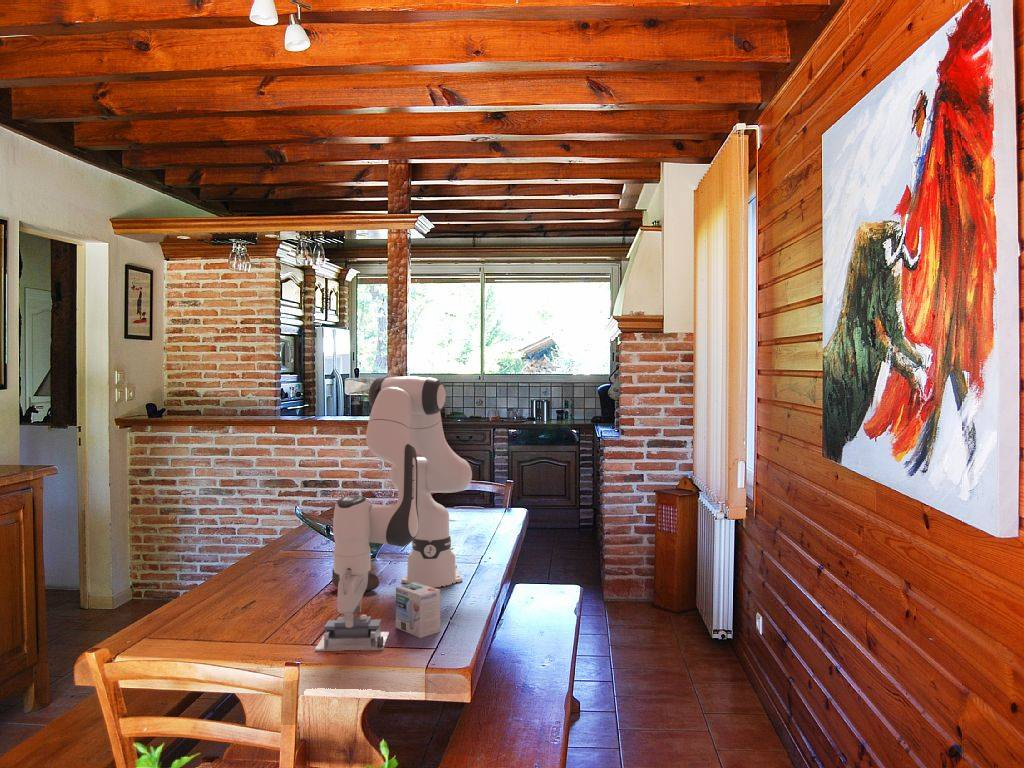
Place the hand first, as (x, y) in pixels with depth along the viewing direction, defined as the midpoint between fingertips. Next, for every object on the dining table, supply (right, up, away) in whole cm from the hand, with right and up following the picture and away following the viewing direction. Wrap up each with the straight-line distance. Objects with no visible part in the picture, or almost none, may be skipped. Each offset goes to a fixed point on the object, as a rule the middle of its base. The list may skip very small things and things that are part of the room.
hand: (353, 619), depth 185 cm
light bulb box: (+15, -5, +8) cm, 18 cm away
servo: (0, -5, 0) cm, 5 cm away
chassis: (0, -5, 0) cm, 5 cm away
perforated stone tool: (-8, -5, +43) cm, 44 cm away
